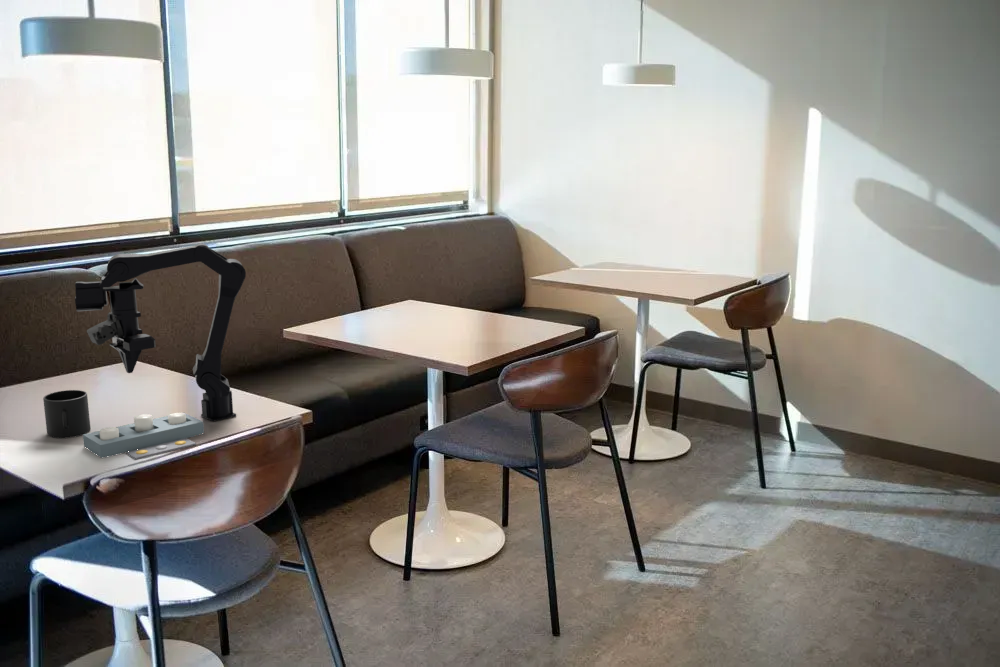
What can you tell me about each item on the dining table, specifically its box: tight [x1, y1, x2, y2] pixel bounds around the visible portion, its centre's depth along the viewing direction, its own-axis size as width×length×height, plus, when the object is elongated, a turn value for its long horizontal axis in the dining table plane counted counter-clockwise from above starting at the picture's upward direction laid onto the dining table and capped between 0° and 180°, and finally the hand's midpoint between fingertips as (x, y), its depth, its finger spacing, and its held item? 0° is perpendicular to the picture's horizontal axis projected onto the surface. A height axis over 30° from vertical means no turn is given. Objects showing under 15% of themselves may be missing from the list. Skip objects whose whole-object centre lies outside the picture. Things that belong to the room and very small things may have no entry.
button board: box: [82, 412, 205, 459], centre depth 224 cm, size 24×10×3 cm, turn 133°
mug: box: [42, 389, 91, 439], centre depth 228 cm, size 9×12×9 cm
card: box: [125, 438, 197, 461], centre depth 218 cm, size 14×5×1 cm, turn 133°
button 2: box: [167, 412, 187, 425], centre depth 229 cm, size 4×4×4 cm
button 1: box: [98, 426, 119, 441], centre depth 218 cm, size 4×4×4 cm
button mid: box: [133, 413, 154, 433], centre depth 223 cm, size 4×4×4 cm
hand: (129, 372), depth 232 cm, fingers closed
